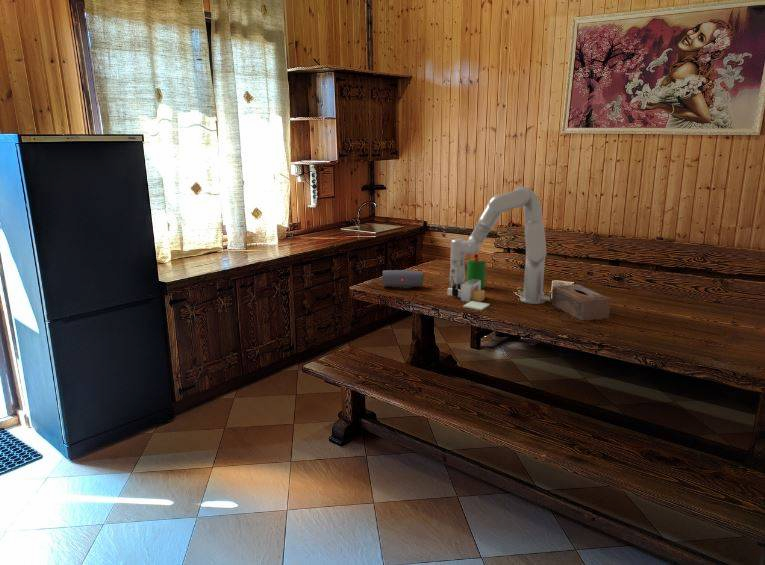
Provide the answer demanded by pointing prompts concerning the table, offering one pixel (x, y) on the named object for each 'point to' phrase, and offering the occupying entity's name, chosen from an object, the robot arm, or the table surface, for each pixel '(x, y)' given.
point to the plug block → (478, 295)
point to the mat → (476, 305)
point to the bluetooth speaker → (402, 278)
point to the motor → (476, 270)
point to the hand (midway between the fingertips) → (456, 295)
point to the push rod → (449, 292)
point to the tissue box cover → (581, 302)
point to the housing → (469, 289)
